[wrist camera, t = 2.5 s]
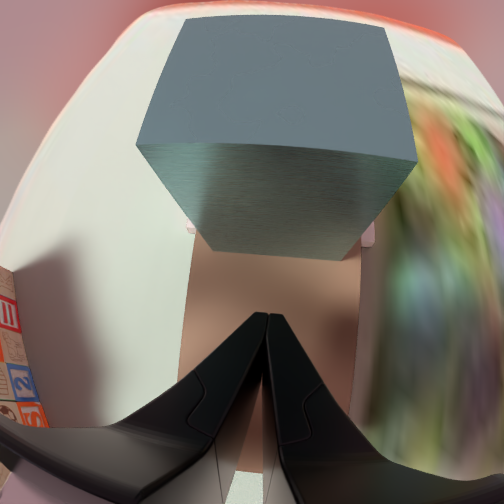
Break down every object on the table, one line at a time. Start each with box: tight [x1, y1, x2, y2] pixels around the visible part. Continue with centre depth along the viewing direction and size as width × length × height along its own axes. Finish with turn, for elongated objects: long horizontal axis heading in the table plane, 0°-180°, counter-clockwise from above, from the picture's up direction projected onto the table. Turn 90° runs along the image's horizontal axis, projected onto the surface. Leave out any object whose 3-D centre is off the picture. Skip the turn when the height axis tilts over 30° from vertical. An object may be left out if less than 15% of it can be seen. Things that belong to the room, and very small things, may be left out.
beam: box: [177, 229, 361, 473], centre depth 18 cm, size 25×9×5 cm, turn 174°
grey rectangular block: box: [136, 15, 418, 261], centre depth 11 cm, size 5×6×9 cm
